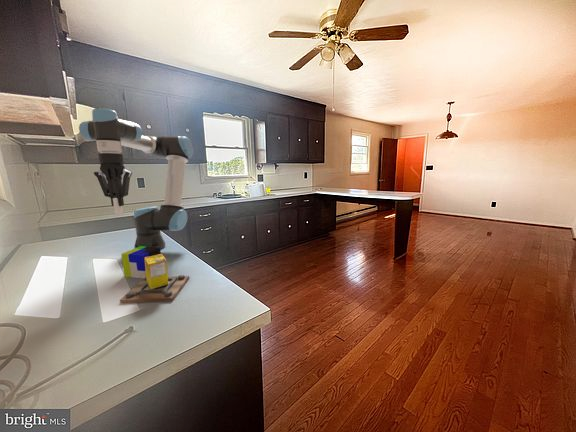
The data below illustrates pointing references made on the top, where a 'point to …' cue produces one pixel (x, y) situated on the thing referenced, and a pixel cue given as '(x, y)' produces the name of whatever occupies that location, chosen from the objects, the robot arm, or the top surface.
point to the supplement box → (156, 271)
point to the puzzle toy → (137, 261)
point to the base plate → (155, 291)
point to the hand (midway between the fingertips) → (119, 214)
